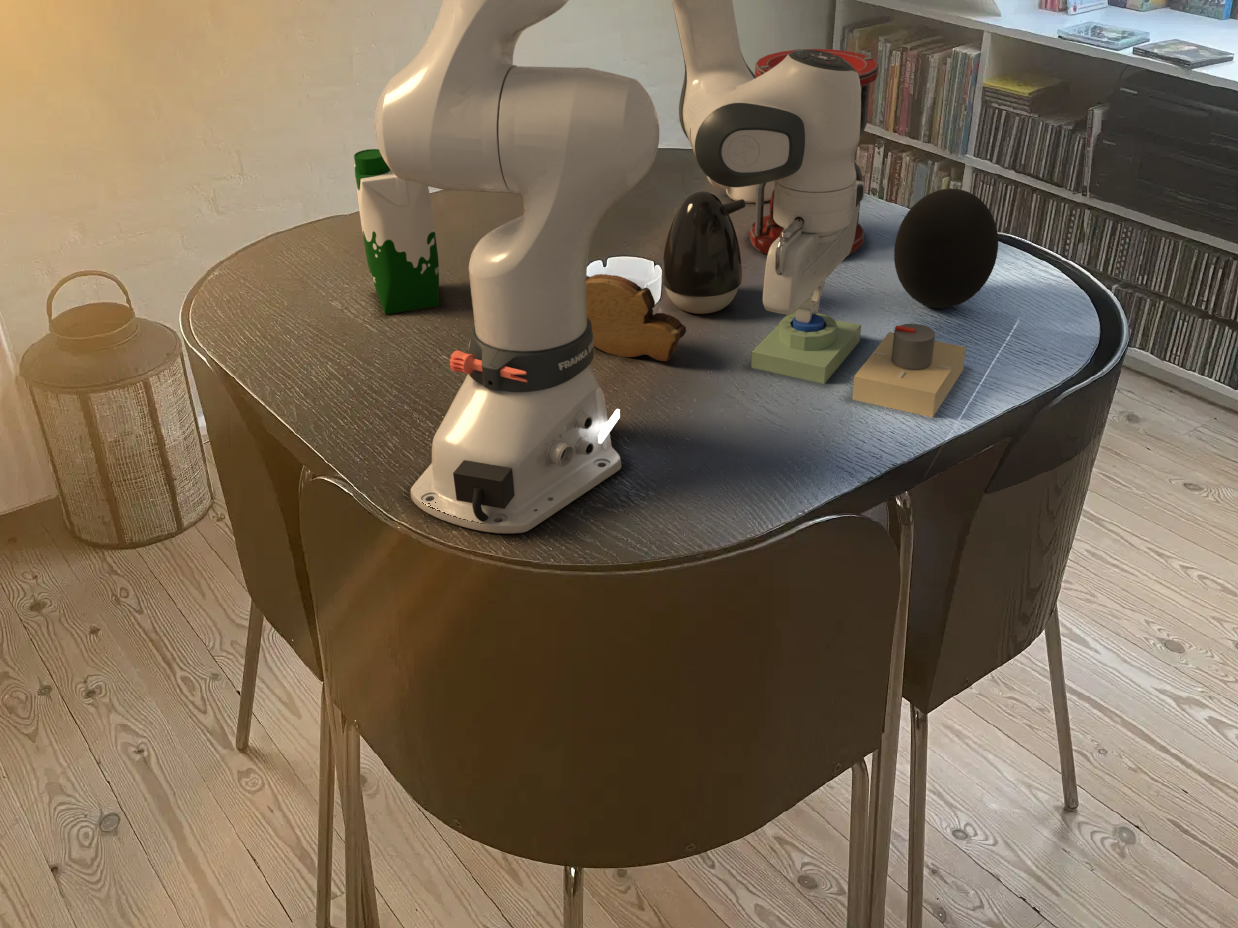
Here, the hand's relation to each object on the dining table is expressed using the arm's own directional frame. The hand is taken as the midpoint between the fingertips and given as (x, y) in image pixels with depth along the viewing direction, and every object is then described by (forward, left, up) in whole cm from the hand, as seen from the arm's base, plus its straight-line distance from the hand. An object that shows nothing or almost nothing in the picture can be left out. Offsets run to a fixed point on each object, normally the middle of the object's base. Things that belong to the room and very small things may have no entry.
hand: (806, 317), depth 137 cm
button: (0, 0, -2) cm, 2 cm away
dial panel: (-2, -13, -5) cm, 14 cm away
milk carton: (-8, +53, -5) cm, 53 cm away
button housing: (0, 0, -5) cm, 5 cm away
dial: (-2, -13, -2) cm, 14 cm away
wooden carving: (-9, +20, -5) cm, 22 cm away
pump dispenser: (+7, +17, -5) cm, 18 cm away
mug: (+46, +29, -5) cm, 54 cm away
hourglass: (+33, +13, -5) cm, 35 cm away
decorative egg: (+20, -10, -5) cm, 23 cm away
